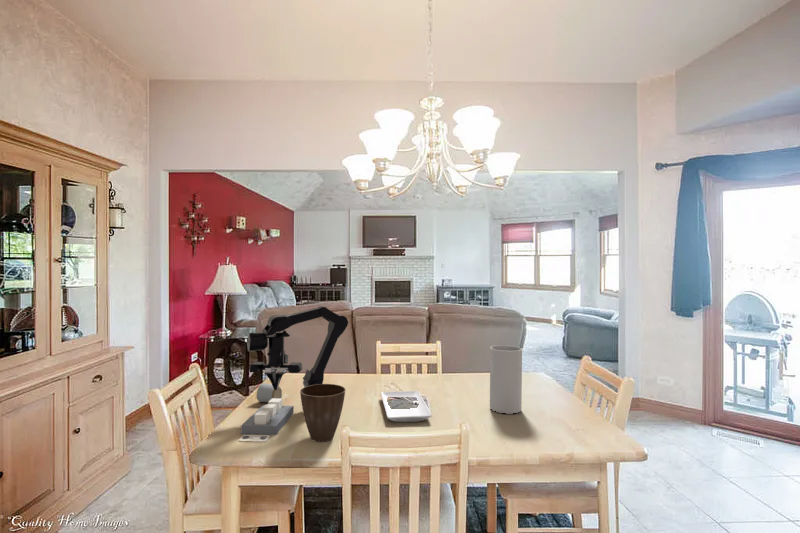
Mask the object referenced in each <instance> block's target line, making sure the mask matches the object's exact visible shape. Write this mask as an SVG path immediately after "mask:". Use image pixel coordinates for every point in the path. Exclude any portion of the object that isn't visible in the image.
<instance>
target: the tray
mask: <svg viewBox="0 0 800 533" xmlns="http://www.w3.org/2000/svg"><path fill="white" fill-rule="evenodd" d="M380 396H381V400H382V403H383V408H384V410H385V415H386V418H387V419H388V420H390V421H392V422H394V423H407V422H410V423H411V422H423V421H424V420H428V419H429V418H431V417H432V412H431V411H430V408H429V407H428V405H427V403H426V402H425V400H424V398H423V397H422V394H421V393H420V391H419V390H403V391H402V390H400V391H382V392H380ZM388 397H416V398H417V400H418V403H419V405H418V407H417V408H410V409H391V408H390V406H389V405H388V402H387V398H388Z"/></svg>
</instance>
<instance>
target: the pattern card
mask: <svg viewBox="0 0 800 533" xmlns="http://www.w3.org/2000/svg"><path fill="white" fill-rule="evenodd" d="M271 436H272V435H254V434H242V436H241V437H240V438H239V439H238V440H237V441H238V442H245V441H253V443H258V442H259V443H267V441H268V440H269V439H270V437H271Z"/></svg>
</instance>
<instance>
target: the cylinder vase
mask: <svg viewBox="0 0 800 533" xmlns="http://www.w3.org/2000/svg"><path fill="white" fill-rule="evenodd" d="M489 348H490V350H489V352H490V353H489V355H490V359H489V408H490V410H491V409H492V410H491V411H492V412H495V411H496V412H495V413H497V412H499V413H498V414H501V413H506V414H505V415H514V414H513V413H517V414H519V413H521V411H522V404H523V403H522V390H523V389H522V388H523V387H522V386H523V385H522V384H523V382H522V380H523V348H522V347H519V346H515V345H508V344H507V345H505V344H504V345H503V344H502V345H501V344H498V345H491V346H490V347H489ZM518 412H519V413H518Z"/></svg>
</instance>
